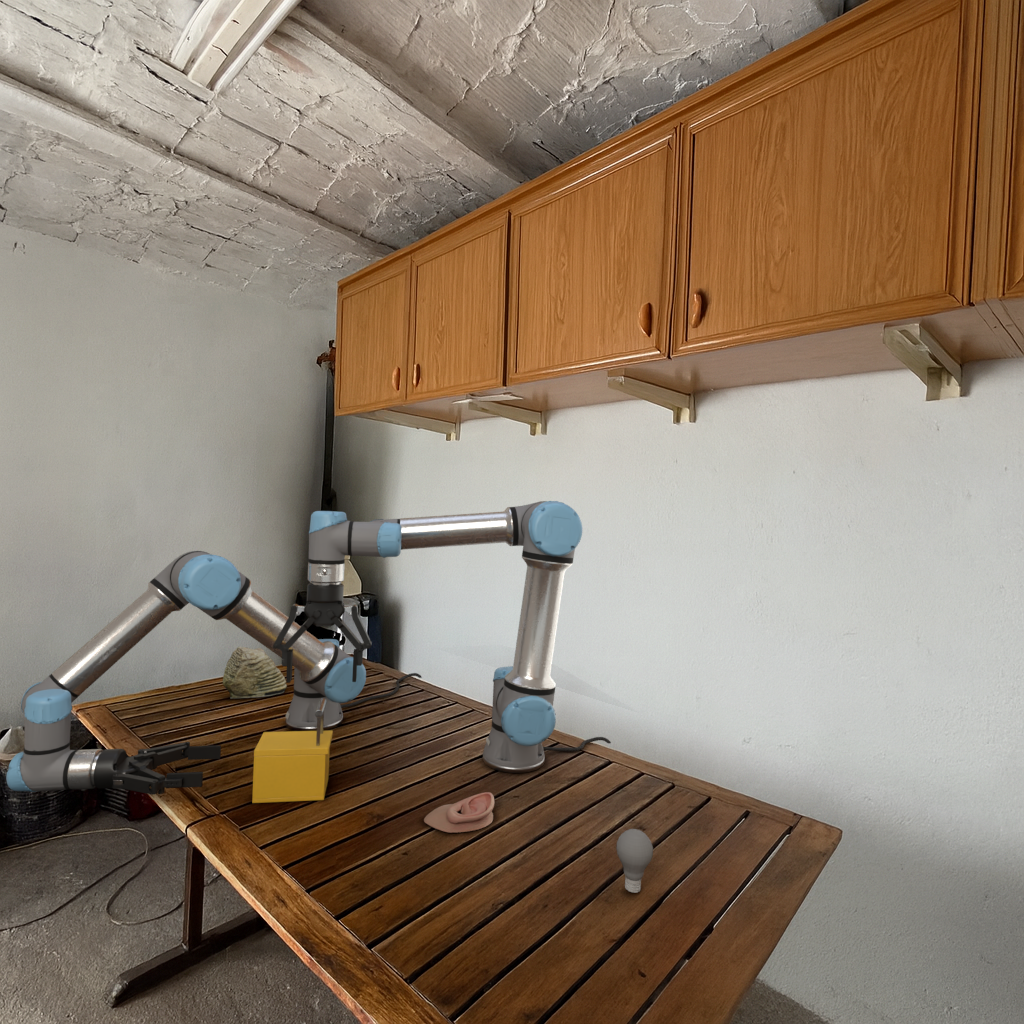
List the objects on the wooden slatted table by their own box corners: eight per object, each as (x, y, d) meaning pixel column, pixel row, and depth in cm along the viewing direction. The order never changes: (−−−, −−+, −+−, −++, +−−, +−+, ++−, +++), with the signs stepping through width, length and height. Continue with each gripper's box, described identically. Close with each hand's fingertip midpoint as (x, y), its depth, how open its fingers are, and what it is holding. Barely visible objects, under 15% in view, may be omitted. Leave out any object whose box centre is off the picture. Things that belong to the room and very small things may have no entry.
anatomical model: (419, 808, 122) (437, 782, 134) (418, 828, 122) (437, 801, 134) (485, 817, 120) (499, 791, 131) (484, 838, 120) (498, 810, 131)
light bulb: (610, 879, 108) (613, 822, 108) (644, 879, 109) (647, 822, 109) (619, 902, 102) (622, 840, 102) (655, 901, 103) (658, 840, 103)
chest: (328, 778, 142) (330, 736, 142) (323, 800, 132) (325, 754, 132) (262, 781, 140) (263, 738, 140) (252, 803, 130) (253, 756, 130)
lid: (332, 736, 142) (334, 696, 142) (328, 754, 132) (329, 711, 132) (263, 737, 140) (265, 697, 139) (253, 756, 130) (255, 713, 129)
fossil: (218, 695, 195) (220, 647, 195) (278, 685, 208) (279, 640, 207) (228, 703, 189) (230, 653, 188) (289, 692, 201) (290, 645, 201)
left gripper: (124, 761, 141) (226, 758, 145) (68, 817, 117) (192, 811, 121) (125, 728, 141) (227, 725, 145) (70, 777, 117) (194, 772, 121)
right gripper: (261, 584, 130) (257, 686, 131) (384, 586, 135) (380, 685, 135) (268, 579, 138) (264, 676, 138) (384, 581, 142) (381, 675, 143)
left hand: (211, 765), depth 133 cm, fingers open, 13 cm apart
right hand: (322, 680), depth 137 cm, fingers open, 13 cm apart
